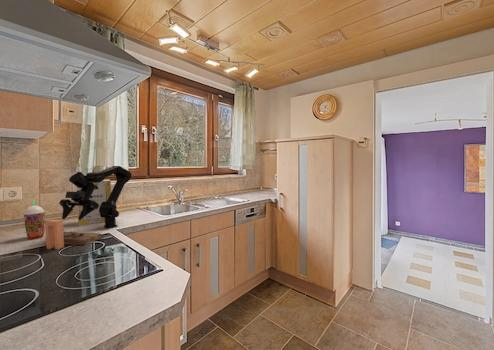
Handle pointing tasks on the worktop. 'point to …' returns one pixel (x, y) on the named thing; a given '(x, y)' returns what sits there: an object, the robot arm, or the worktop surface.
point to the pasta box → (99, 197)
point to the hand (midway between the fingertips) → (71, 219)
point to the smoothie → (34, 221)
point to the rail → (80, 238)
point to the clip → (54, 234)
